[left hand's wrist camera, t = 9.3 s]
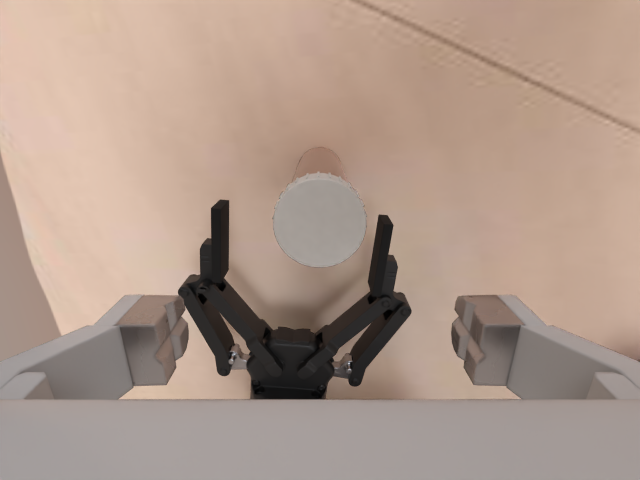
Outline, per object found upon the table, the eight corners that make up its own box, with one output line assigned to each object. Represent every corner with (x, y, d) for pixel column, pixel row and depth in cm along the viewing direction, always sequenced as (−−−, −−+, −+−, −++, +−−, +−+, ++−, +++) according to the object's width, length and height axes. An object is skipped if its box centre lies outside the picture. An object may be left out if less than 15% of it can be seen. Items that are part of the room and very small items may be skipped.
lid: (290, 158, 19) (288, 163, 17) (377, 188, 19) (383, 196, 18) (264, 240, 20) (260, 252, 19) (345, 266, 21) (347, 280, 19)
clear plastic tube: (306, 140, 33) (293, 171, 18) (348, 155, 34) (372, 198, 18) (292, 182, 35) (269, 245, 19) (333, 196, 35) (343, 269, 20)
